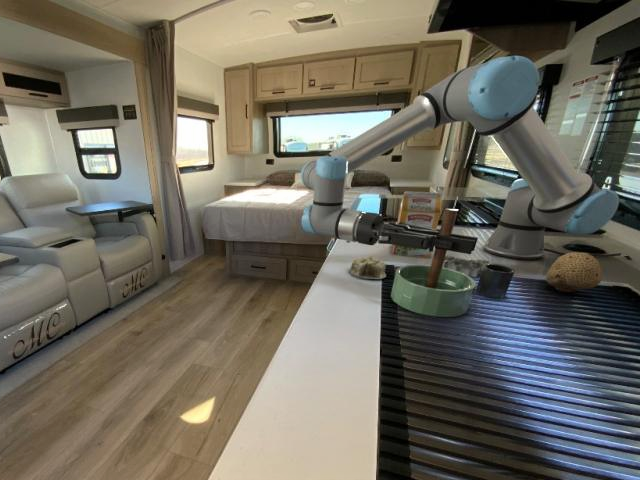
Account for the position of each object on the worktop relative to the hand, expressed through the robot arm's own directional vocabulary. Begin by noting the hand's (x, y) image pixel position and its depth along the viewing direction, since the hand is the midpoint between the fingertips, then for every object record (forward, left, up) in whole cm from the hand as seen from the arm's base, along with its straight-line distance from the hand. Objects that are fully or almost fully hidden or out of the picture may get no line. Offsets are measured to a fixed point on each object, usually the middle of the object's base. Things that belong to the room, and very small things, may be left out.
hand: (474, 245), depth 66 cm
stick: (+5, -3, -13) cm, 15 cm away
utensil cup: (-11, -9, -15) cm, 21 cm away
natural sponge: (-30, -13, -15) cm, 36 cm away
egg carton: (-11, -25, -15) cm, 31 cm away
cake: (+15, -20, -15) cm, 29 cm away
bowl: (+5, -3, -15) cm, 16 cm away
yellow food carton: (-3, -43, -15) cm, 46 cm away
